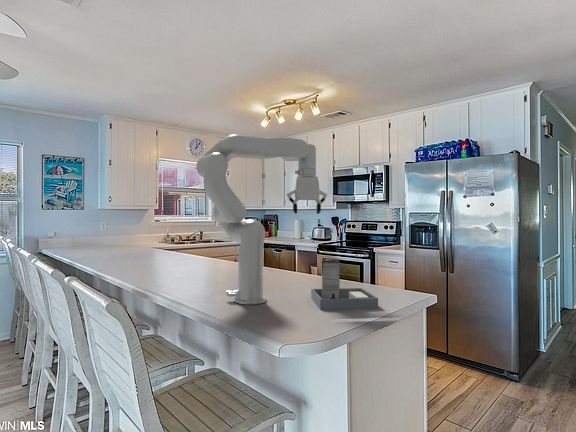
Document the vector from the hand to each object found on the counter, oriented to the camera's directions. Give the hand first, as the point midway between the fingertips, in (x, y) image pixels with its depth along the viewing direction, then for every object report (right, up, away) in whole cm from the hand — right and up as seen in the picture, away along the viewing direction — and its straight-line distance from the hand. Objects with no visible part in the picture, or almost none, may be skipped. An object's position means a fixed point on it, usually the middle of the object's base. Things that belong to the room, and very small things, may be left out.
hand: (306, 213), depth 156 cm
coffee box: (+8, -34, -21) cm, 40 cm away
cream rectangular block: (+18, -33, -20) cm, 43 cm away
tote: (+12, -34, -21) cm, 42 cm away
